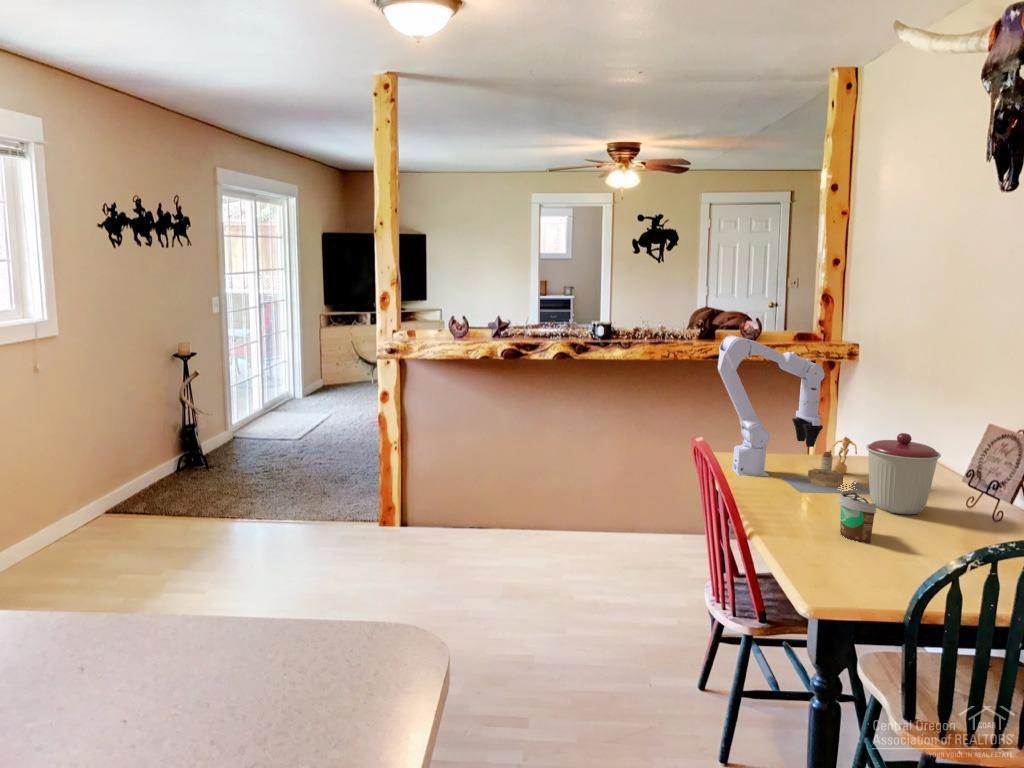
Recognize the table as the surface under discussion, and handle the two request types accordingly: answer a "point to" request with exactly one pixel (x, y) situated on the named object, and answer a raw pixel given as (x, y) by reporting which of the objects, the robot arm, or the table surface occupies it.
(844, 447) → the figurine
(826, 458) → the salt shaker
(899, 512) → the canister
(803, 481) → the felt mat
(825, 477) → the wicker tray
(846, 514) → the food container
